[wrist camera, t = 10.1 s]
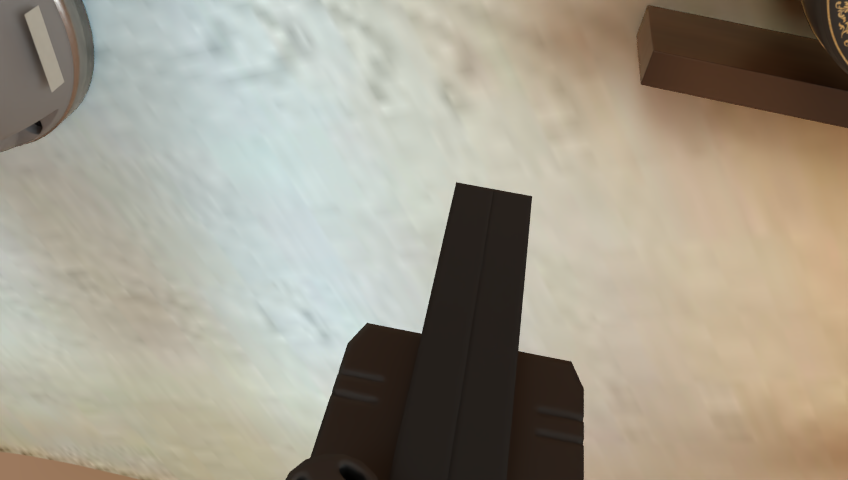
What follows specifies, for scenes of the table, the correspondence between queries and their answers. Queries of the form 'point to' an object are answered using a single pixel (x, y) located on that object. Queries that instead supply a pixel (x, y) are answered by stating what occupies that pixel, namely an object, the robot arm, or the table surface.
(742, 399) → the table surface
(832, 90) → the corner fence
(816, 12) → the jar
